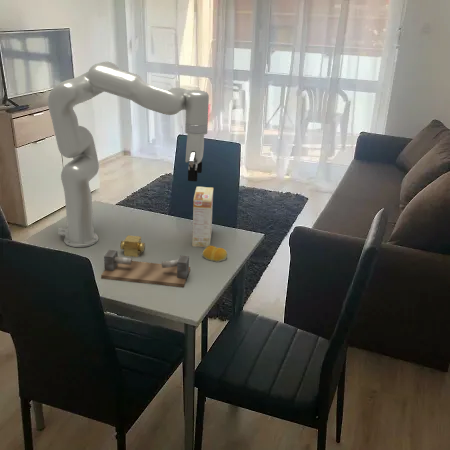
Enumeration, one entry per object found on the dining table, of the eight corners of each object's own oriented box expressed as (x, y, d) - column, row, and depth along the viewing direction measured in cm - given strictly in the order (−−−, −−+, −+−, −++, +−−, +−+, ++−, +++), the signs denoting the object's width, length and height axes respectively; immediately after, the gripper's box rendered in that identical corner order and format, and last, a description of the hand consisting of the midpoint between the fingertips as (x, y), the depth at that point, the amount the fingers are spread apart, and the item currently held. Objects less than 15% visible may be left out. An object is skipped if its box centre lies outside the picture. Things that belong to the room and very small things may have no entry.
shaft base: (101, 278, 166) (100, 259, 163) (112, 261, 177) (112, 243, 174) (183, 287, 164) (184, 268, 161) (190, 270, 175) (190, 251, 172)
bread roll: (222, 264, 180) (223, 254, 179) (199, 259, 183) (200, 249, 182) (230, 255, 187) (231, 245, 186) (208, 250, 190) (209, 240, 189)
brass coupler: (119, 255, 182) (119, 240, 180) (123, 249, 187) (123, 234, 184) (142, 257, 181) (141, 242, 179) (145, 251, 186) (145, 237, 184)
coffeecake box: (194, 230, 205) (196, 186, 198) (212, 231, 205) (214, 187, 197) (191, 246, 192) (192, 199, 184) (209, 247, 192) (212, 200, 184)
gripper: (190, 122, 177) (188, 168, 183) (180, 133, 161) (179, 183, 168) (210, 123, 176) (208, 170, 183) (203, 135, 160) (201, 185, 167)
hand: (194, 176), depth 175 cm, fingers open, 9 cm apart
